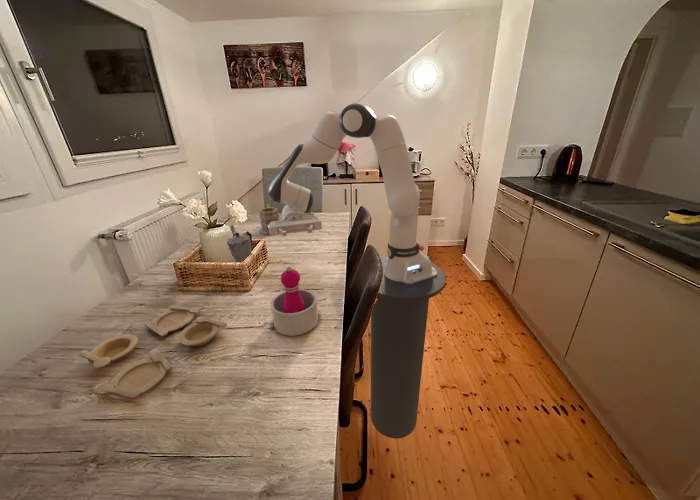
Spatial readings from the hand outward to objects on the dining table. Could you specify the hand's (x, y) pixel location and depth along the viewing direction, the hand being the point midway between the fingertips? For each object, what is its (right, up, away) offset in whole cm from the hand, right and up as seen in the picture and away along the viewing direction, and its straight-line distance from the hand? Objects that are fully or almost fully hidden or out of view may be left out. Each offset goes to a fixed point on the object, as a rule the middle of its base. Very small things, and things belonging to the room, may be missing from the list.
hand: (297, 232), depth 103 cm
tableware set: (-38, -36, -18) cm, 55 cm away
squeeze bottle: (-37, -11, +38) cm, 54 cm away
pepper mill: (+1, -30, -9) cm, 31 cm away
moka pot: (-27, -17, +24) cm, 40 cm away
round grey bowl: (+1, -30, -8) cm, 31 cm away
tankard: (-31, +7, +79) cm, 85 cm away
